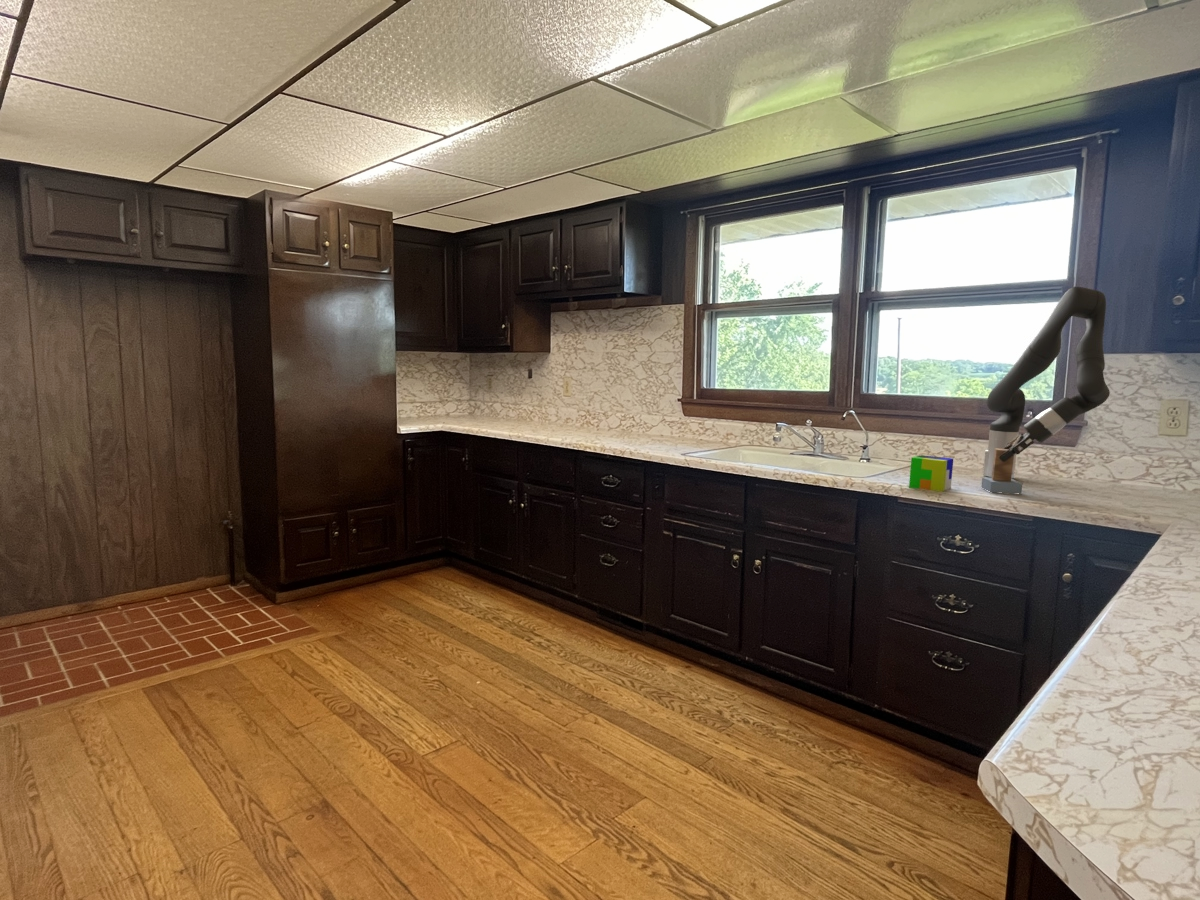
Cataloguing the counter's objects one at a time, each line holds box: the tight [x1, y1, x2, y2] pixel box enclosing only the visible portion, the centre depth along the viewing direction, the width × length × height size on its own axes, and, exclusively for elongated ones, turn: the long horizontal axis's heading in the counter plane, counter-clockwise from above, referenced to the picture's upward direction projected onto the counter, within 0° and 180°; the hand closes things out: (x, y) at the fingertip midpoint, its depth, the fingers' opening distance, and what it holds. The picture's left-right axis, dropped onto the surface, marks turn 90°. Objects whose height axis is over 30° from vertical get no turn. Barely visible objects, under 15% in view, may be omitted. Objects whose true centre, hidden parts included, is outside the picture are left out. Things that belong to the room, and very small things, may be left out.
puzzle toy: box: [908, 455, 954, 493], centre depth 223 cm, size 10×10×10 cm
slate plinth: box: [980, 476, 1023, 495], centre depth 220 cm, size 9×9×4 cm
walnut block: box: [991, 448, 1014, 482], centre depth 219 cm, size 5×5×10 cm
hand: (999, 458), depth 220 cm, fingers open, 8 cm apart
